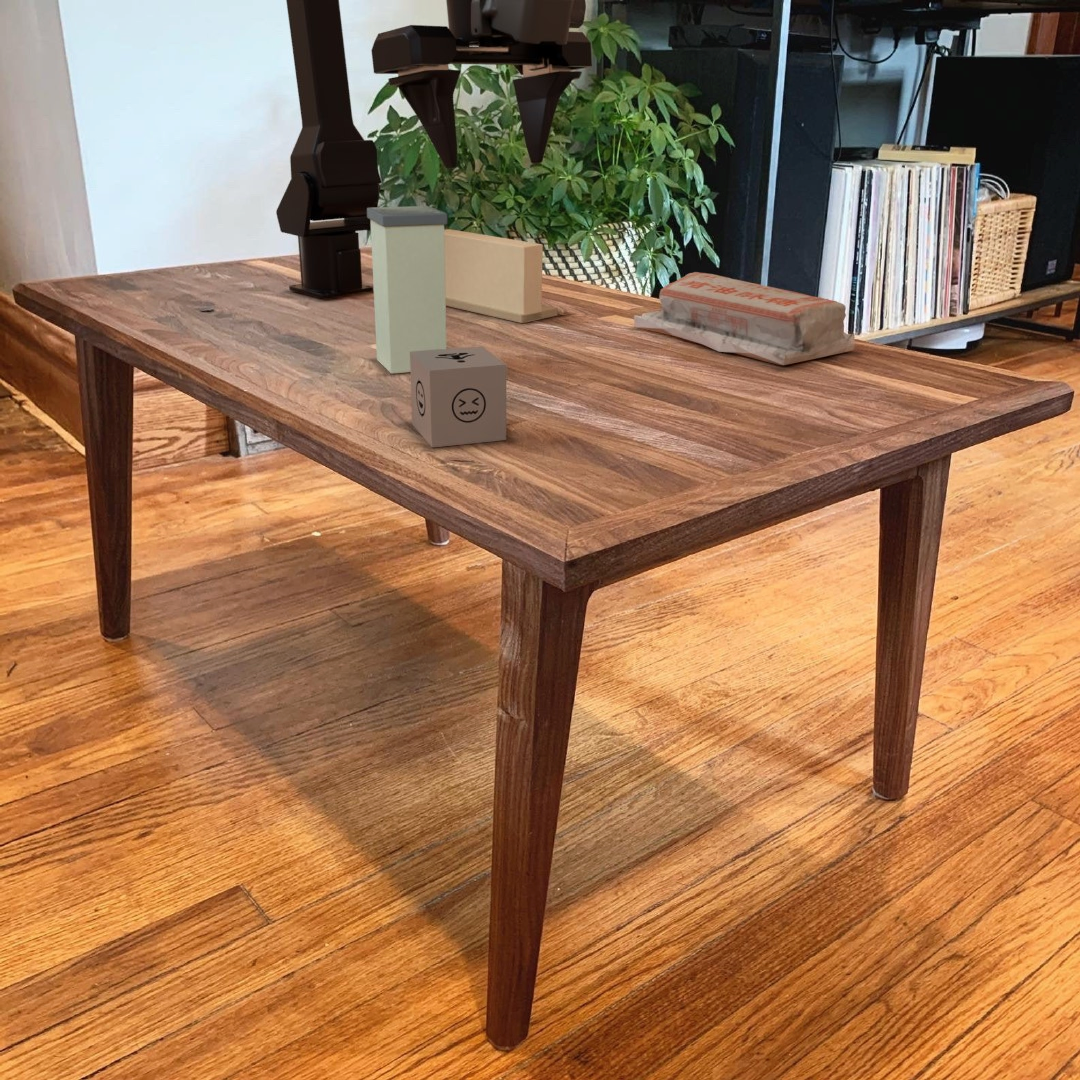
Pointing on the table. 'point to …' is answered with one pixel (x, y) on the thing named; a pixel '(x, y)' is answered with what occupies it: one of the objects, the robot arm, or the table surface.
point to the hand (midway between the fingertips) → (495, 165)
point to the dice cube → (458, 396)
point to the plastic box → (408, 282)
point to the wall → (495, 276)
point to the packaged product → (749, 319)
